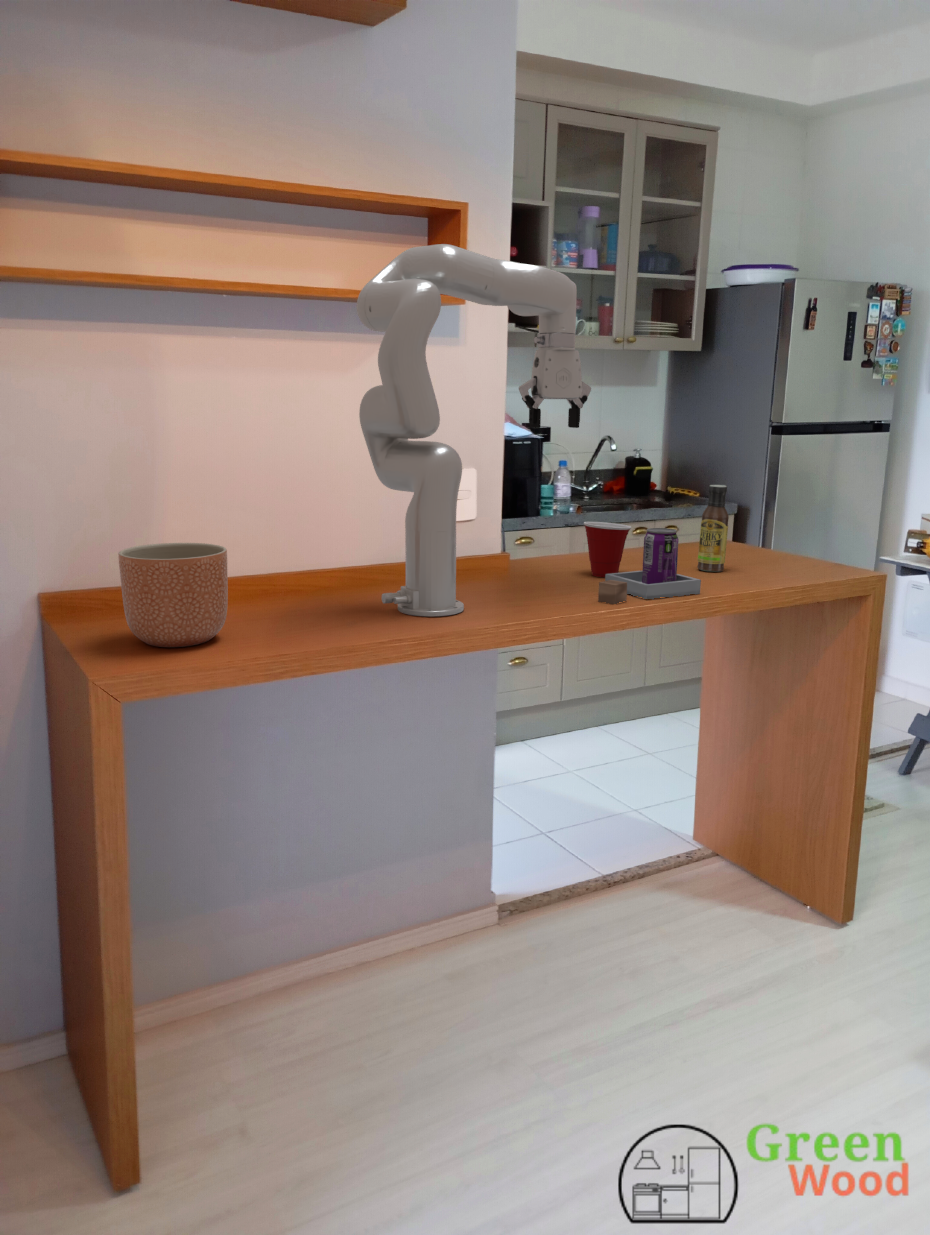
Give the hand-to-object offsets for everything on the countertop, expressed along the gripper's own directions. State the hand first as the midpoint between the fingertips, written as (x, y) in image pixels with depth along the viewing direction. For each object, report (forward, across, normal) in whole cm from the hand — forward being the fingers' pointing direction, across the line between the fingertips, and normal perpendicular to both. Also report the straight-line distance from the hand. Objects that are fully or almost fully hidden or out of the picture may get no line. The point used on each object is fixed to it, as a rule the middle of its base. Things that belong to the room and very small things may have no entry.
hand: (554, 427), depth 211 cm
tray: (+33, +15, -16) cm, 40 cm away
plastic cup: (+34, +17, +3) cm, 38 cm away
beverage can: (+33, +17, -16) cm, 40 cm away
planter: (+34, -83, -14) cm, 91 cm away
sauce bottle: (+34, +43, -3) cm, 55 cm away
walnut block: (+33, +1, -21) cm, 39 cm away
